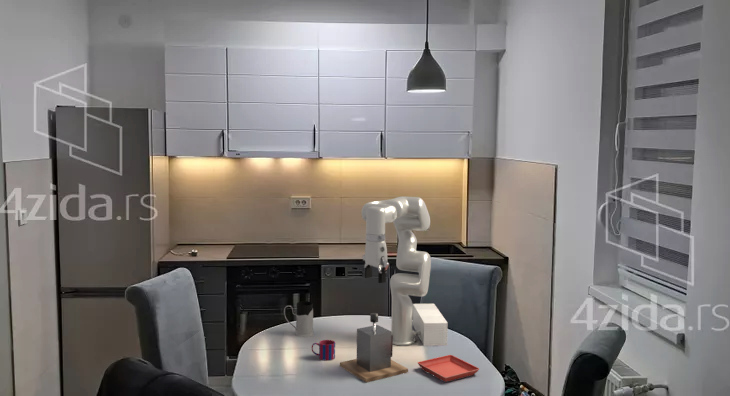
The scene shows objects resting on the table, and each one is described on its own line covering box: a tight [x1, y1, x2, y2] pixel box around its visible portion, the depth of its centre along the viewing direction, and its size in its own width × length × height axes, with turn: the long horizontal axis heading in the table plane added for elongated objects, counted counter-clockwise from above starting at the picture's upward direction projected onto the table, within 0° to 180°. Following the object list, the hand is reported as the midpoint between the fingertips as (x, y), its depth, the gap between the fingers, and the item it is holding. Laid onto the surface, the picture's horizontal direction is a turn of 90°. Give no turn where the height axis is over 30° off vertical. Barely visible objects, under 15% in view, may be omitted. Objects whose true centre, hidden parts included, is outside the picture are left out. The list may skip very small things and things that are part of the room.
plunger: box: [369, 312, 379, 331], centre depth 252 cm, size 8×8×21 cm
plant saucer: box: [417, 354, 480, 383], centre depth 251 cm, size 18×18×3 cm
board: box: [339, 358, 409, 383], centre depth 253 cm, size 20×20×2 cm
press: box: [356, 324, 394, 372], centre depth 253 cm, size 13×10×15 cm
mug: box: [311, 339, 336, 362], centre depth 266 cm, size 7×10×7 cm
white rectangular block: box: [412, 303, 449, 347], centre depth 298 cm, size 32×11×11 cm, turn 5°
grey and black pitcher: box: [283, 300, 315, 338], centre depth 295 cm, size 9×14×15 cm, turn 89°
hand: (375, 279), depth 250 cm, fingers open, 9 cm apart
